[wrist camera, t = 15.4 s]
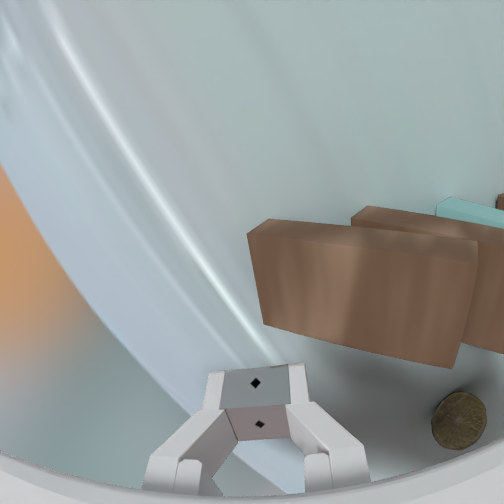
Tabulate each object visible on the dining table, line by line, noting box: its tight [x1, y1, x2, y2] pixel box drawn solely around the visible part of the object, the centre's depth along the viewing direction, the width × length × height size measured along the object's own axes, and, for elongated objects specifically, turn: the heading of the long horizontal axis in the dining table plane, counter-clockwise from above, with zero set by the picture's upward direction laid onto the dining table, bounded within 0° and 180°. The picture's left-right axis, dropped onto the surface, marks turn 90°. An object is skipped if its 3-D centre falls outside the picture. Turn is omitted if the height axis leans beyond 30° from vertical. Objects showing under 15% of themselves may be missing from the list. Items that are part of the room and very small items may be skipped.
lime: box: [431, 392, 487, 450], centre depth 20 cm, size 4×5×5 cm
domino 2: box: [351, 206, 504, 354], centre depth 12 cm, size 2×5×10 cm
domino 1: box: [247, 219, 478, 369], centre depth 13 cm, size 2×5×10 cm
